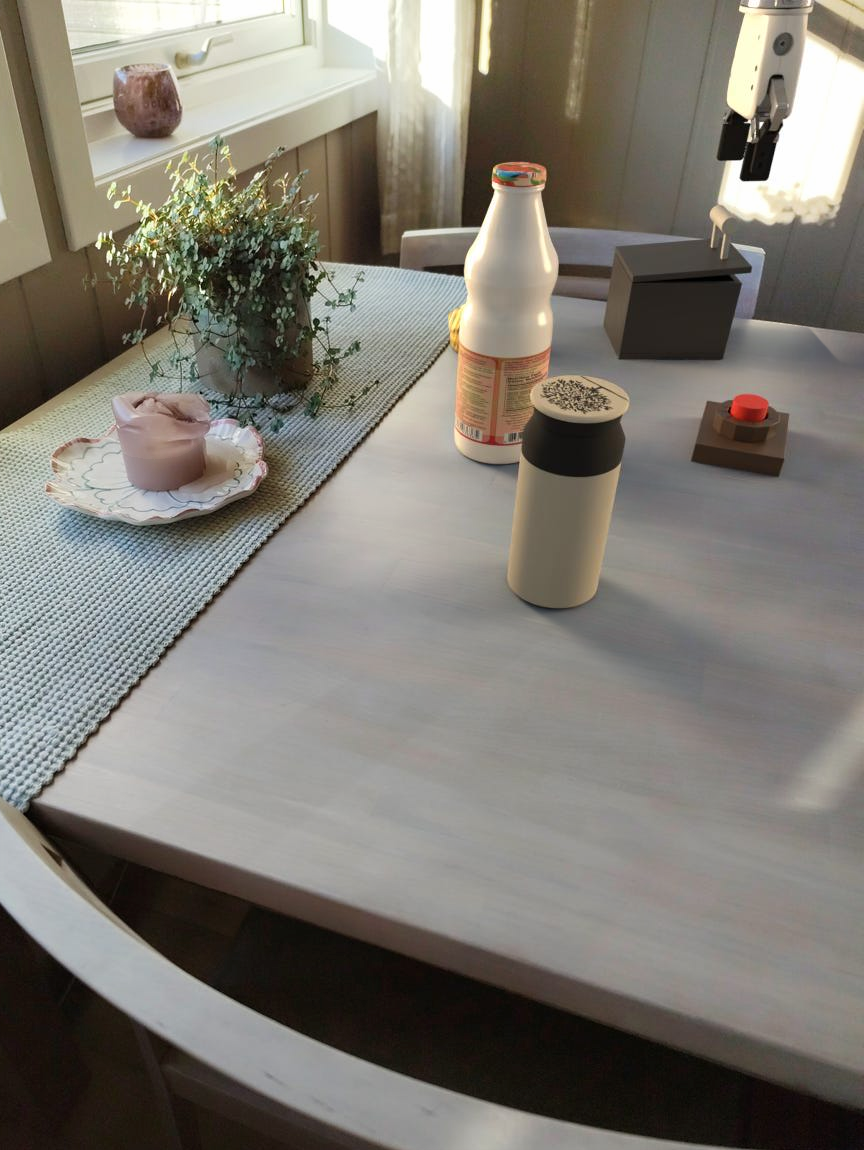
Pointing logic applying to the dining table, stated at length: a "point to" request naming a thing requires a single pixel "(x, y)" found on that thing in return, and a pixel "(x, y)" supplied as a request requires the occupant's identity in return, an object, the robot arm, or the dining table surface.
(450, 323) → the seashell
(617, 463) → the travel mug
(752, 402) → the button
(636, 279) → the lid
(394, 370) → the dining table surface
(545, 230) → the fruit juice
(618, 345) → the dark hinged lid box
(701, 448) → the panel
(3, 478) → the dining table surface
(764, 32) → the robot arm
